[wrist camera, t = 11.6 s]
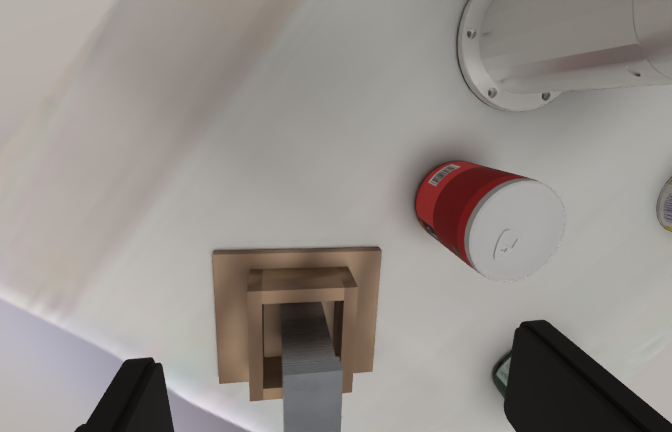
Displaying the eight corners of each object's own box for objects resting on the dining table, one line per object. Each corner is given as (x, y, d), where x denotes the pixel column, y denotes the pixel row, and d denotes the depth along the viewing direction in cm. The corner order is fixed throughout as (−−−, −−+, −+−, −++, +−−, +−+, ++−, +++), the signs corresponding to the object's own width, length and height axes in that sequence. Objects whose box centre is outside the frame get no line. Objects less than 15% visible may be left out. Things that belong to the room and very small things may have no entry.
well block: (378, 247, 37) (396, 269, 32) (369, 365, 41) (384, 402, 36) (214, 250, 35) (203, 275, 29) (220, 377, 38) (212, 419, 33)
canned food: (403, 230, 37) (455, 276, 27) (425, 152, 35) (489, 169, 25) (471, 241, 39) (543, 289, 28) (495, 167, 37) (582, 190, 27)
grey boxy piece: (320, 289, 36) (342, 370, 25) (319, 342, 38) (340, 440, 27) (279, 291, 36) (283, 375, 24) (280, 345, 37) (284, 447, 26)
